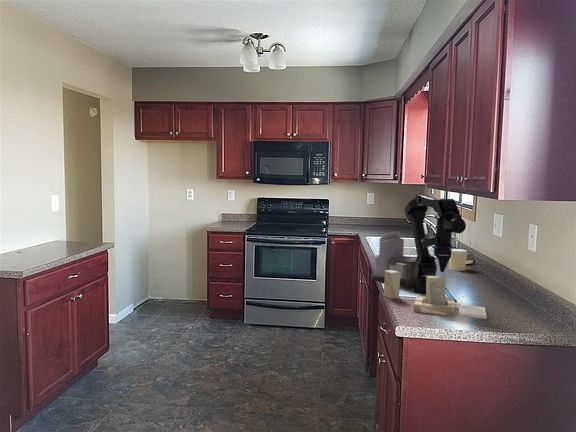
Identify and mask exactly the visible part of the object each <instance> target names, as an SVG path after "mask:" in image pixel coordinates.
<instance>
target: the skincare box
mask: <svg viewBox="0 0 576 432" xmlns="http://www.w3.org/2000/svg"><path fill="white" fill-rule="evenodd" d="M425 297H426V304H434V305H444V306H445V299H446V277H444V276H443V275H435V276H427V277H426V293H425Z"/></svg>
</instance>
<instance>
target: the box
mask: <svg viewBox="0 0 576 432" xmlns="http://www.w3.org/2000/svg"><path fill="white" fill-rule="evenodd" d="M400 288H401V287H400V272H398V271H394V270H385V279H384V282H383V296H384V297H386V298H388V299H400Z"/></svg>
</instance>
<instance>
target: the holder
mask: <svg viewBox="0 0 576 432" xmlns="http://www.w3.org/2000/svg"><path fill="white" fill-rule="evenodd" d="M455 310H456V300H455V299H453V298H451V299H450V298H445V306H444V305H434V304H426V296H422V295H421V296H420V295H417V296H416V298H415V301H414V303H413V312H414V313H423V314H432V315H433V314H434V315H442V316H450V317H455V312H456V311H455Z"/></svg>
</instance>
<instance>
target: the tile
mask: <svg viewBox="0 0 576 432" xmlns="http://www.w3.org/2000/svg"><path fill="white" fill-rule="evenodd" d="M458 316H459V317H467V318H477V319H485V320H486V319H487V317H488V316H487V312H486V308H485V306H484V307H483V306H477V305H476V306H474V305H467V304H458Z"/></svg>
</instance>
